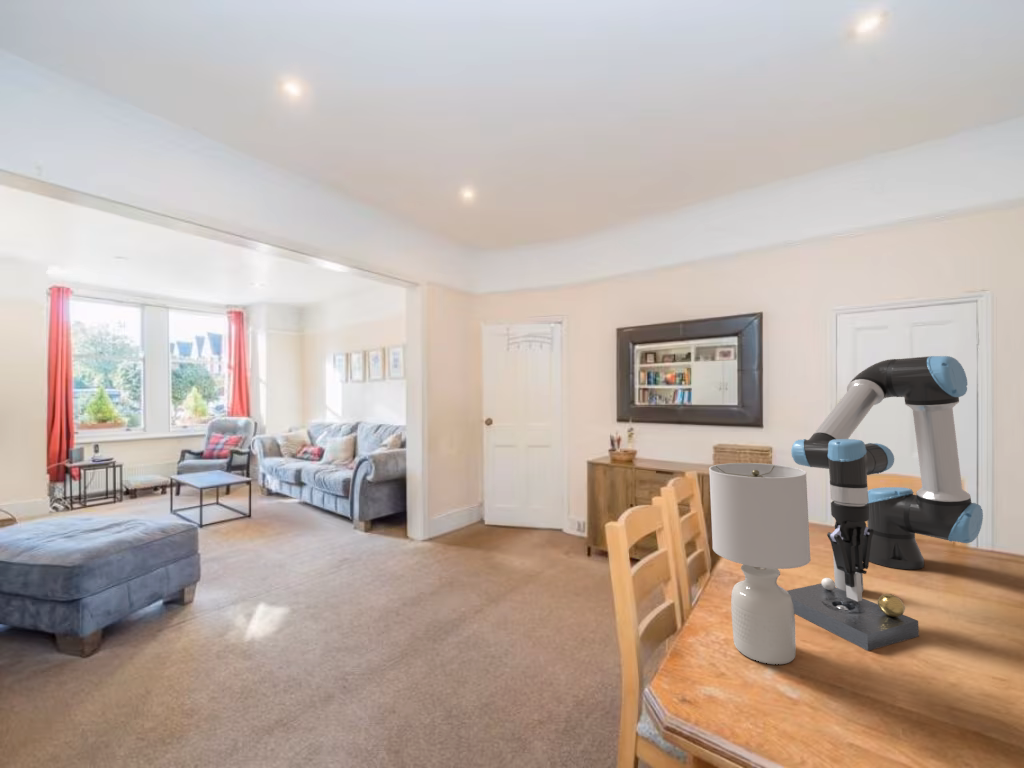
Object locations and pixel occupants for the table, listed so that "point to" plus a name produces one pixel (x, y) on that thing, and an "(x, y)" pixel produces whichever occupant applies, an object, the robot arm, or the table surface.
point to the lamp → (761, 550)
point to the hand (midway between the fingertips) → (854, 598)
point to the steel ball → (842, 607)
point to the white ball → (828, 583)
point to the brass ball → (891, 605)
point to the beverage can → (841, 577)
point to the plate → (851, 617)
